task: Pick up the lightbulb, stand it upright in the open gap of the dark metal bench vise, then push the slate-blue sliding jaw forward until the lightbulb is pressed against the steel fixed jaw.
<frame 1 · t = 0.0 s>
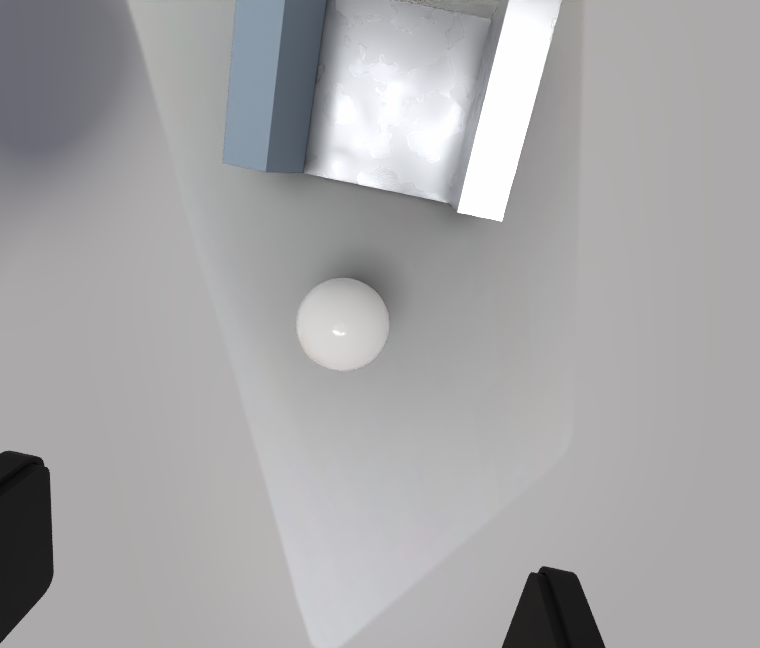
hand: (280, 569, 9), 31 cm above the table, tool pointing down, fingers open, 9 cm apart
lightbulb: (357, 295, 40), on the table
vise jaw: (279, 67, 29), point 7 cm above the table, slide at 0.0 cm
vise base: (380, 101, 35), on the table
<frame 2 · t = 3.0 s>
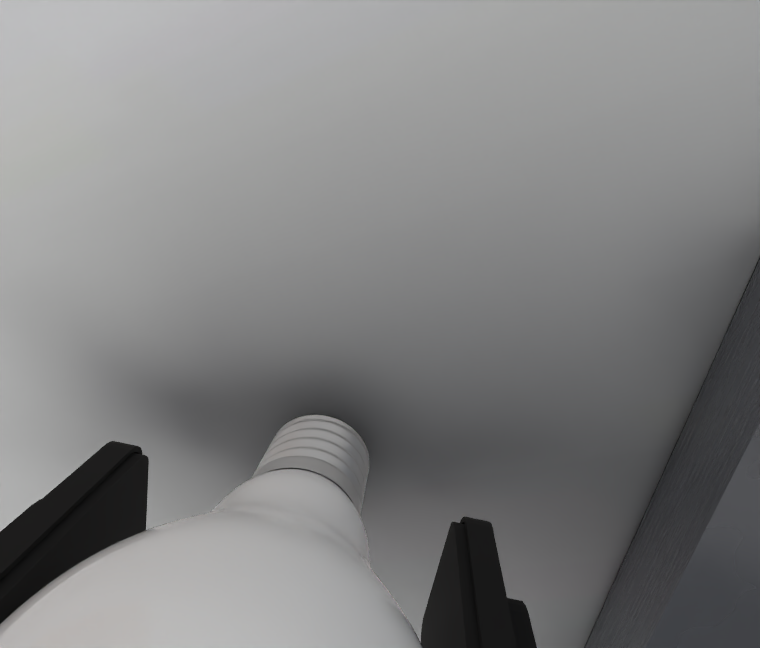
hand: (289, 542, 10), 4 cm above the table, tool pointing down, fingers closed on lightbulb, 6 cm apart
lightbulb: (325, 441, 13), on the table, touching gripper
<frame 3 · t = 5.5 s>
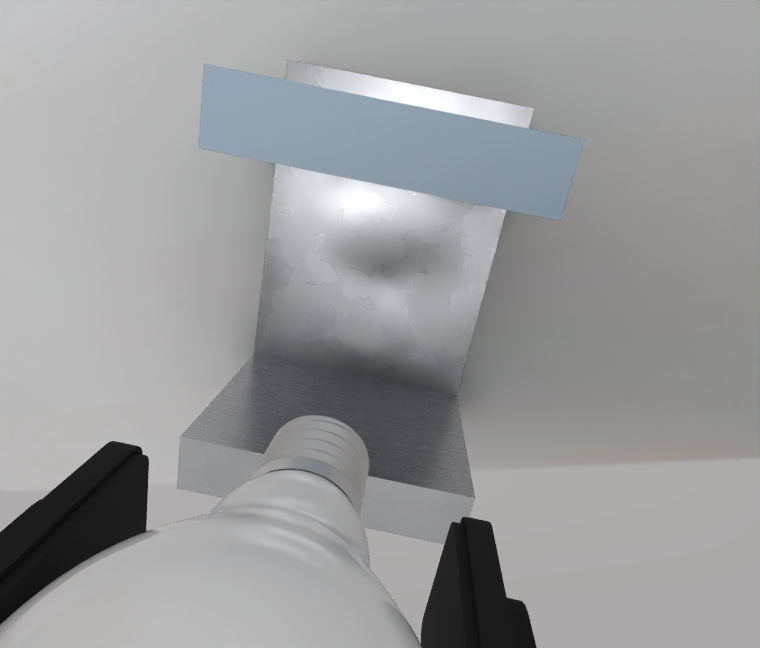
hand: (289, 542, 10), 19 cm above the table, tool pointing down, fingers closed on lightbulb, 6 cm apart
lightbulb: (325, 442, 13), point 15 cm above the table, touching gripper
vise jaw: (392, 150, 19), point 7 cm above the table, slide at 0.0 cm
vise base: (378, 260, 27), on the table
when the fingers open (6 cm above the table, at t = 8.4 s): lightbulb stays where it is, resting on vise base.
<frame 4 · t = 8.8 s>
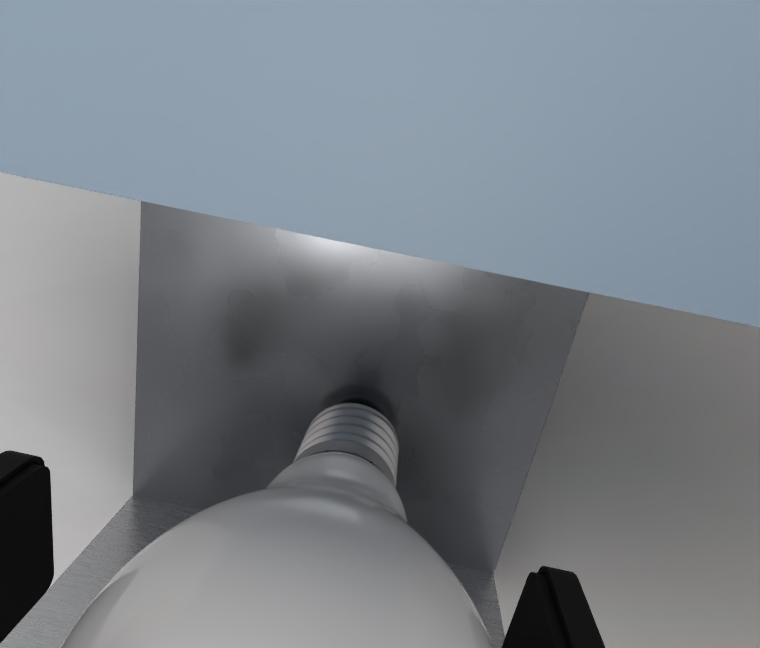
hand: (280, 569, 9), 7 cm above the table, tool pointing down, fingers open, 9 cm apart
lightbulb: (355, 429, 14), point 2 cm above the table, touching vise base
vise jaw: (359, 112, 7), point 7 cm above the table, slide at 0.0 cm
vise base: (353, 329, 15), on the table
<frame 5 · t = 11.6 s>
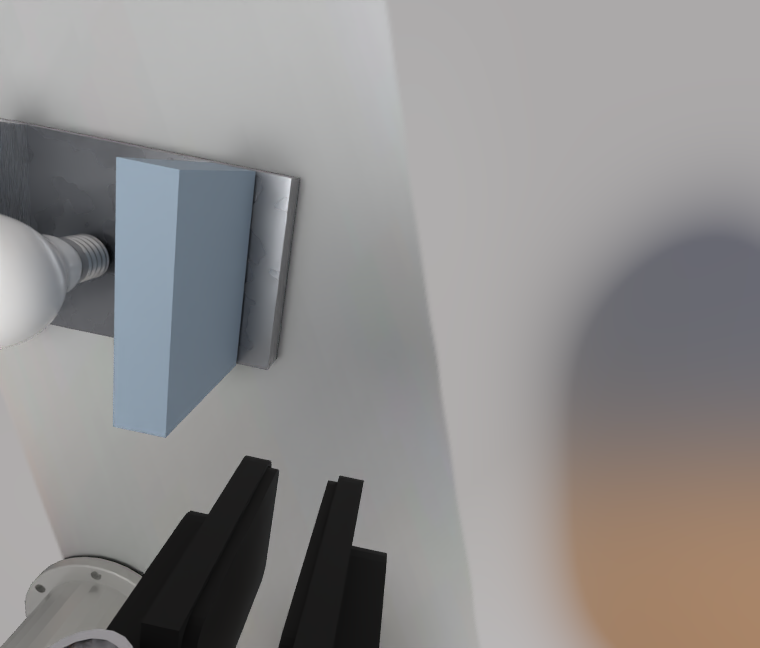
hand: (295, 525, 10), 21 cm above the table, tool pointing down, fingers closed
lightbulb: (97, 253, 29), point 2 cm above the table, touching vise base
vise jaw: (191, 286, 24), point 7 cm above the table, slide at 0.0 cm
vise base: (152, 245, 30), on the table
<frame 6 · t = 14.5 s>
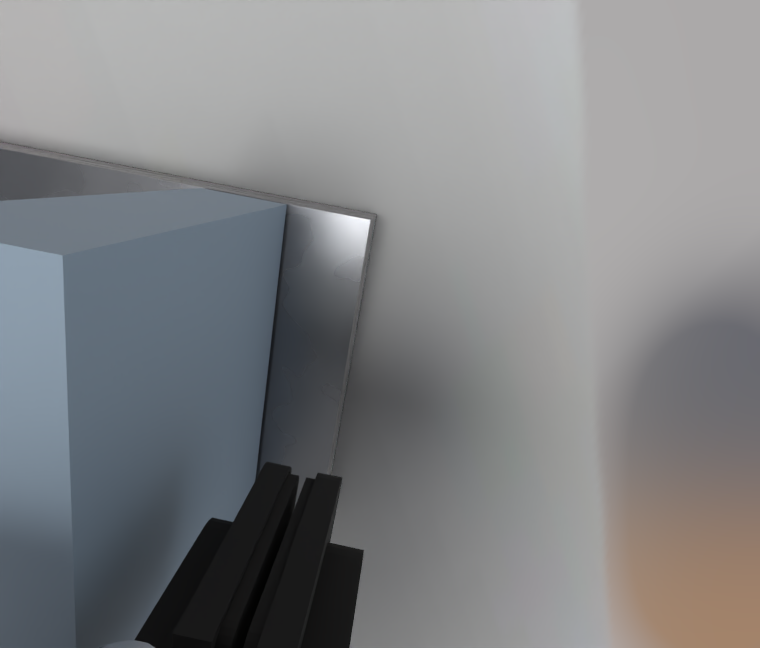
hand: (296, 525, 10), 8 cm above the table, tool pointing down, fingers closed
vise jaw: (155, 463, 11), point 7 cm above the table, slide at 0.4 cm, touching gripper
vise base: (111, 330, 17), on the table
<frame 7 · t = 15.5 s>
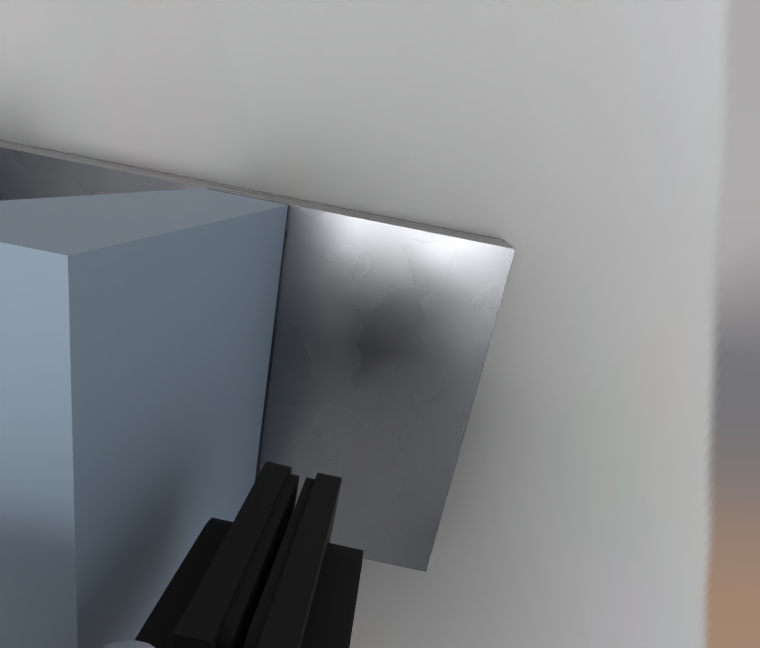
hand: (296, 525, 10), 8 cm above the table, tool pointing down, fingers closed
vise jaw: (155, 462, 11), point 7 cm above the table, slide at 4.6 cm, touching gripper, lightbulb
vise base: (221, 352, 17), on the table
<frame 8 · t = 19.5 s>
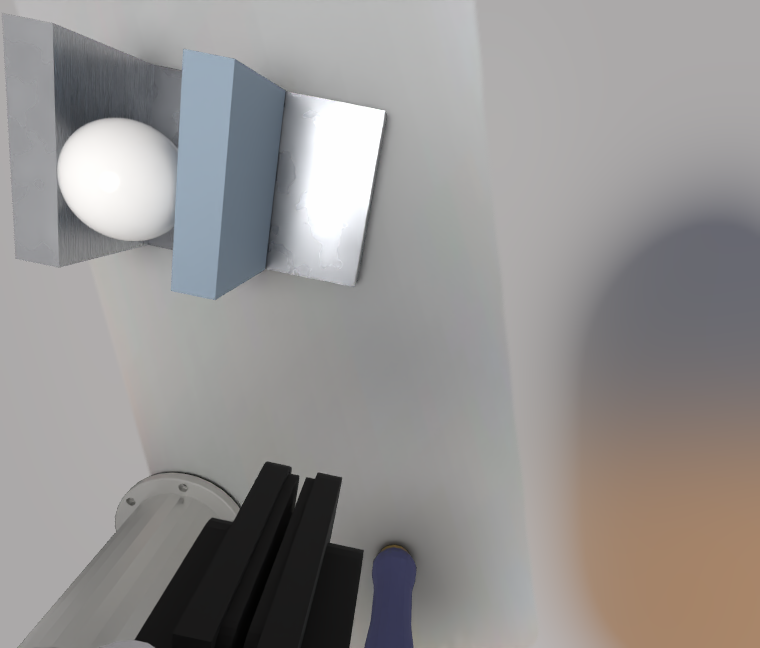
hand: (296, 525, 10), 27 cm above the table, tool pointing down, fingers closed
rubber mallet: (395, 553, 44), on the table
lightbulb: (207, 182, 33), point 2 cm above the table, touching vise base, vise jaw
vise jaw: (232, 182, 28), point 7 cm above the table, slide at 4.6 cm, touching lightbulb
vise base: (251, 178, 35), on the table
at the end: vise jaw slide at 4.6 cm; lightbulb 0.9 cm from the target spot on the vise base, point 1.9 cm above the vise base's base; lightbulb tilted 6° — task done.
